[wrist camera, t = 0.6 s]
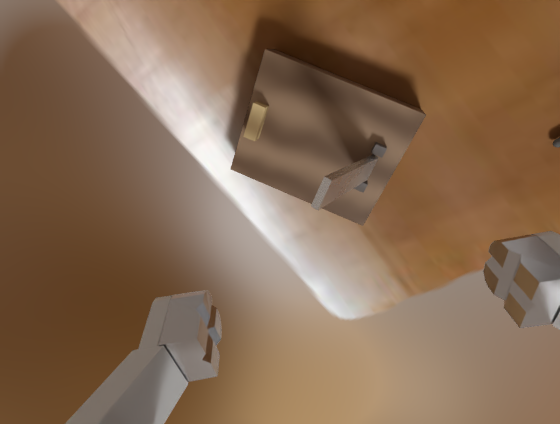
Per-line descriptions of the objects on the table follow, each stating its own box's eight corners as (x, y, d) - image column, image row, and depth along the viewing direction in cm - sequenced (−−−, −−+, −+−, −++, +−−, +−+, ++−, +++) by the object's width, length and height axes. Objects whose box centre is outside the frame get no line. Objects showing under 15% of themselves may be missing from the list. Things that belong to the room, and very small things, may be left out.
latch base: (273, 48, 42) (260, 49, 37) (421, 109, 41) (428, 117, 36) (240, 160, 49) (225, 173, 44) (363, 213, 49) (362, 232, 44)
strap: (323, 176, 29) (332, 181, 29) (373, 154, 40) (379, 157, 40) (310, 205, 30) (318, 210, 30) (361, 176, 42) (367, 179, 42)
